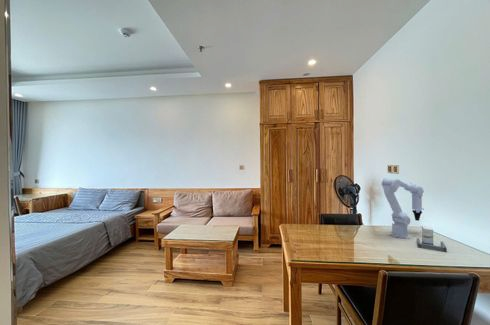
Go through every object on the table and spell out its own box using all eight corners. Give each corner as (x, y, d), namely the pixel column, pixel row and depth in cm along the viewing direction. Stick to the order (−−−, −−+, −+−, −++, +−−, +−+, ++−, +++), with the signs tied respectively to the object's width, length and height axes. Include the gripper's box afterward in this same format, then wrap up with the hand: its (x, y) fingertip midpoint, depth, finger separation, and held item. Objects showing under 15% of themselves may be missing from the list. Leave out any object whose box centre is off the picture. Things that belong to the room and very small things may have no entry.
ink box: (433, 248, 135) (433, 229, 135) (423, 246, 138) (423, 228, 138) (431, 243, 142) (430, 226, 142) (421, 242, 145) (421, 225, 145)
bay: (418, 247, 137) (418, 243, 137) (416, 241, 147) (416, 237, 147) (446, 252, 129) (446, 248, 129) (443, 245, 139) (442, 241, 139)
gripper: (424, 204, 153) (425, 223, 153) (422, 201, 164) (423, 218, 164) (412, 203, 157) (412, 222, 157) (411, 200, 169) (411, 217, 169)
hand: (417, 220), depth 161 cm, fingers closed
